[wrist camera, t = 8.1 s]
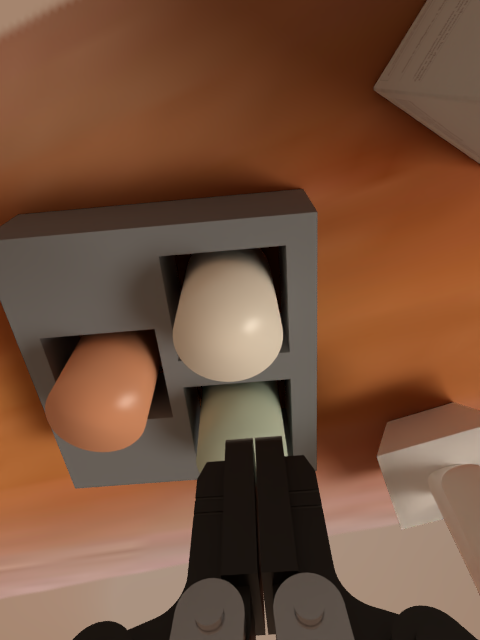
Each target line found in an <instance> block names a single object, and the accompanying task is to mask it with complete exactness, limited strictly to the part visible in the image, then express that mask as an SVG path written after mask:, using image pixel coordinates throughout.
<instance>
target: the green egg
mask: <svg viewBox="0 0 480 640" xmlns="http://www.w3.org/2000/svg"><path fill="white" fill-rule="evenodd" d="M271 436H282V441H283V449H284V456H288V453H287V446H286V439H285V433H284V426H283V419H282V412H281V406H280V399H279V392H278V386H277V380H271V381H258V382H246V383H233V384H220V385H208V386H203V390H202V401H201V412H200V424H199V435H198V446H197V457H196V464H197V468H198V471H199V473H201V471H202V470H203V468H204V466H205V464H206V463H207V462H213V461H225V441H226V440H231V439H245V438H253V444H254V453H255V438H257V437H271ZM255 463H256V453H255Z"/></svg>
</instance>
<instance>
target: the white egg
mask: <svg viewBox="0 0 480 640" xmlns="http://www.w3.org/2000/svg"><path fill="white" fill-rule="evenodd" d="M282 341H283V329H282V323H281V318H280V313H279V309H278V304H277V299H276V294H275V289H274V284H273V279H272V274H271V269H270V265H269V262H268V260H267V258H266V256H265V254H264V253H263V252H262V250H261V249H260V248H250V249H238V250H227V251H215V252H204V253H193V254H192V256H191V257H190V259H189V262H188V265H187V269H186V273H185V278H184V282H183V287H182V291H181V296H180V300H179V304H178V309H177V313H176V318H175V322H174V327H173V343H174V347H175V350H176V352H177V354H178V356H179V357H180V359H181V360H182V361H183V363H184V364H185V365H186V366H187V367H188V368H189V369H191V370H192V371H193V372H195V373H197V374H198V375H200V376H202V377H205V378H208V379H211V380H215V381H222V382H234V381H241V380H245V379H248V378H251V377H253V376H256V375H258V374H259V373H261V372H262V371H264V370H265V369H266V368H268V367H269V366H270V365H271V364H272V363H273V361H274V360H275V359H276V357H277V355H278V353H279V351H280V349H281V346H282Z"/></svg>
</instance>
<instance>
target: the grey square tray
mask: <svg viewBox="0 0 480 640" xmlns="http://www.w3.org/2000/svg"><path fill="white" fill-rule="evenodd" d="M273 246H279V268H280V291H281V313H280V318H281V323H282V329H283V341H282V346H281V349H280V351H279V353H278V355H277V357H276V359H275V360H274V361H273V363H272V364H271V365H270V366H269V367H268V368H266V369H265V370H264V371H262V372H261V373H259V374H258V375H256V376H253V377H251V378H248V379H245V380H241V381H234V382H222V381H215V380H211V379H208V378H205V377H202V376H200V375H198V374H197V373H195V372H193V371H192V370H191V369H189V368H188V367H187V366H186V365H185V364H184V363H183V361H182V360H181V359H180V357H179V356H178V354H177V352H176V350H175V347H174V343H173V327H174V322H175V318H176V313H177V309H178V304H179V300H180V296H181V290H180V284H179V279H178V273H177V267H176V261H175V255H181V254H192V253H204V252H215V251H227V250H238V249H250V248H262V247H273ZM0 301H1V303H2V306H3V308H4V311H5V313H6V316H7V318H8V321H9V323H10V326H11V328H12V331H13V333H14V336H15V339H16V341H17V344H18V346H19V349H20V351H21V354H22V356H23V359H24V361H25V364H26V366H27V369H28V371H29V374H30V376H31V379H32V381H33V384H34V386H35V389H36V391H37V394H38V396H39V399H40V401H41V404H42V406H43V409H44V411H45V403H46V400H47V397H48V395H49V393H50V392H51V390H52V388H53V386H54V385H55V383H56V381H57V379H58V377H59V376H60V374H61V372H62V370H63V369H64V367H65V365H66V363H67V362H68V360H69V358H70V356H71V354H72V353H73V351H74V349H75V347H76V346H77V344H78V342H79V340H80V338H79V335H88V334H100V333H112V332H124V331H136V330H148V329H155V333H156V338H157V343H158V348H159V352H160V357H161V362H162V367H163V371H164V373H159V374H158V376H157V381H156V385H155V389H154V393H153V397H152V401H151V406H150V410H149V414H148V418H147V422H146V426H145V429H144V432H143V433H142V435H141V436H140V438H139V439H138V440H137V441H136V442H135V443H133V444H132V445H130V446H128V447H126V448H124V449H121V450H117V451H112V452H93V451H88V450H84V449H81V448H78V447H75V446H73V445H71V444H69V443H68V442H66V441H64V440H63V439H62V438H60V437H59V436H58V435H57V434H56V433H55V432H54V431H53V429H52V428H51V429H52V431H53V434H54V436H55V439H56V441H57V444H58V446H59V449H60V451H61V454H62V456H63V459H64V461H65V464H66V466H67V469H68V471H69V474H70V476H71V479H72V481H73V484H74V486H75V488H88V487H102V486H115V485H129V484H143V483H156V482H170V481H183V480H197V478H198V477H199V475H200V473H199V471H198V468H197V464H196V457H197V446H198V435H199V424H200V412H201V409H200V403H199V397H198V391H197V386H208V385H220V384H233V383H246V382H258V381H271V380H284V384H285V408H283V409H281V412H282V419H283V426H284V433H285V439H286V446H287V453H288V456H296V455H304V456H305V457H306V459H307V460H308V461H309V463H310V464H311V465H312V467H313V468H314V470H315V471H317V211H316V209H315V207H314V206H313V204H312V203H311V201H310V199H309V198H308V196H307V194H306V193H305V191H304V190H303V189H297V190H285V191H274V192H263V193H252V194H241V195H230V196H219V197H208V198H197V199H186V200H174V201H163V202H152V203H141V204H130V205H119V206H108V207H97V208H86V209H75V210H64V211H52V212H41V213H30V214H19V215H17V216H15V217H14V218H12V219H11V220H9V221H8V222H6V223H5V224H3V225H2V226H0Z"/></svg>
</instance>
